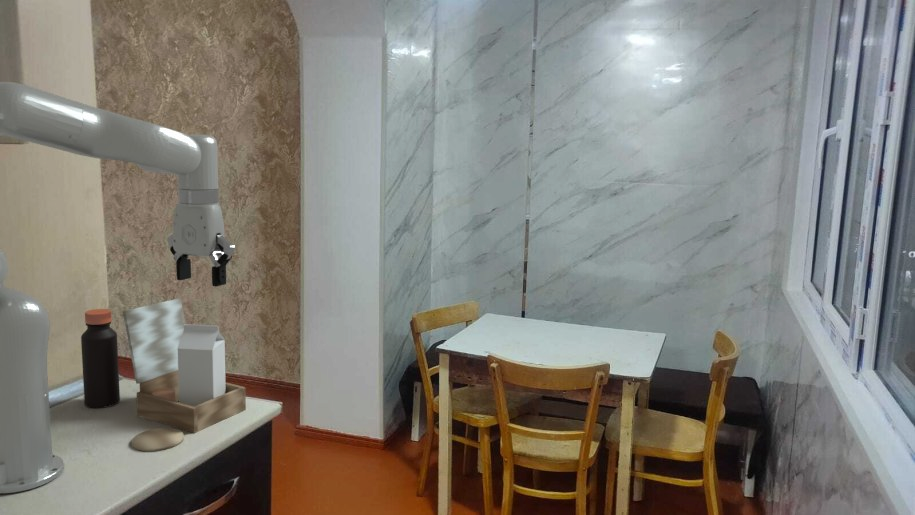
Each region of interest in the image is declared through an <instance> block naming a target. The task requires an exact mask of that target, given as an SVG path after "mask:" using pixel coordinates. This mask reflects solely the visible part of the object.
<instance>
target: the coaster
mask: <svg viewBox="0 0 915 515" xmlns="http://www.w3.org/2000/svg"><path fill="white" fill-rule="evenodd" d="M184 435H185V434H184V432H182V431H181V429H180V430H179V429H178V428H173V427H171V428H170V427H164V428H163V427H162V428H161V427H160V428H152V429H148V430H145V431H143V432H140V433H138V434H136V435H134V437H133V438H132V439H131V447H133V449H135V450H138V451H140V452H141V451H142V452H159V451H165V450H168V449H172V448H174V447H177V446H178V445H180V444H181V443H183V441H184Z"/></svg>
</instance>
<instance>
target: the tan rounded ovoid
mask: <svg viewBox="0 0 915 515" xmlns="http://www.w3.org/2000/svg"><path fill="white" fill-rule="evenodd" d="M152 395H154V396H158V397H161V398H165V399H169V400H172V401H175V389H173V388H168V387H165V388H158V389H155V390H153V391H152Z"/></svg>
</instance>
